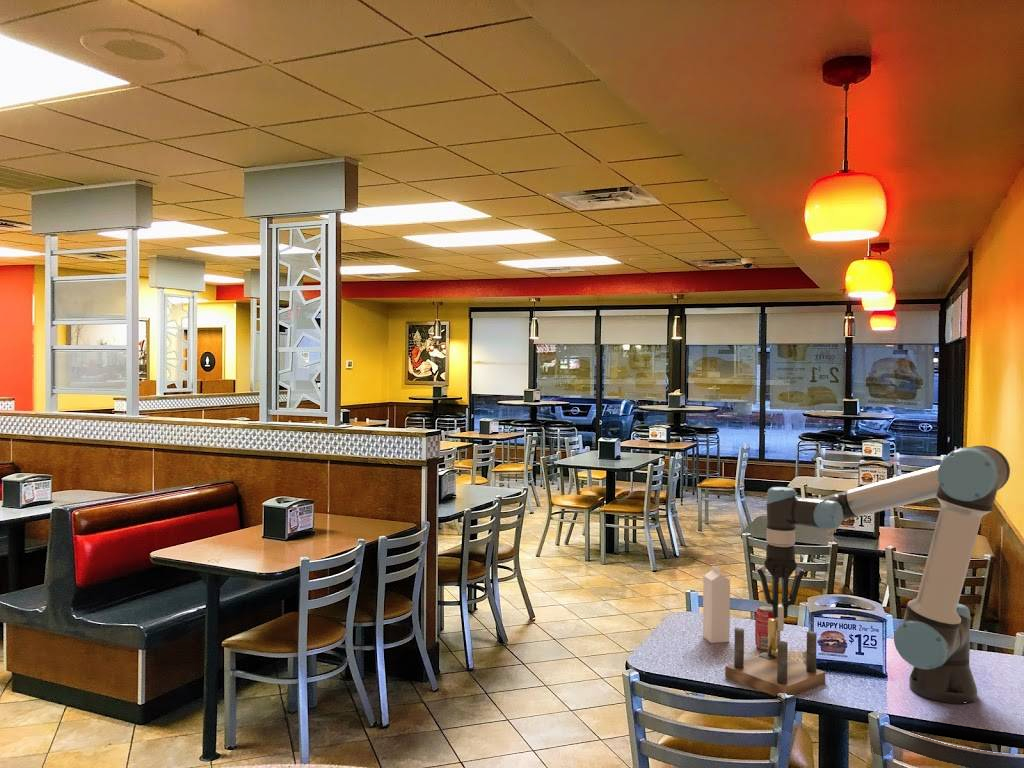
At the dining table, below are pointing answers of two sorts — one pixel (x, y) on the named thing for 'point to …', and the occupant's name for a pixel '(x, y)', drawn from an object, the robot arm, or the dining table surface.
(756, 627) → the soda can
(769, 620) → the hinged leg
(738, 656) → the stool seat
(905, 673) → the dining table surface
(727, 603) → the milk
